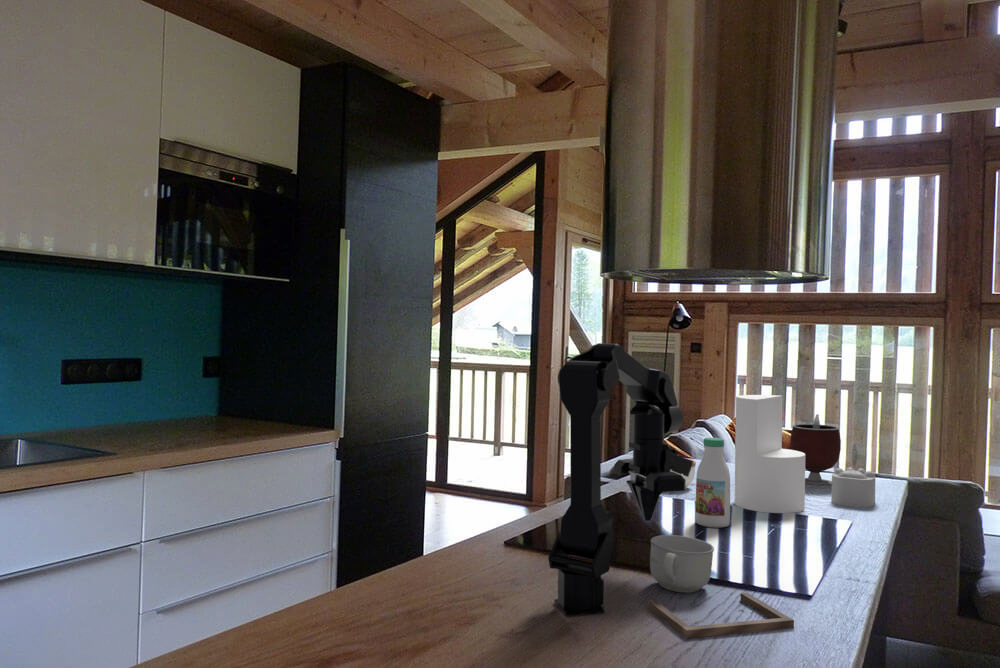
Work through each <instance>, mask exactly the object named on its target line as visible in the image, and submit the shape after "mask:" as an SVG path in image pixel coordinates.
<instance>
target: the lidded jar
mask: <svg viewBox="0 0 1000 668" xmlns="http://www.w3.org/2000/svg"><path fill="white" fill-rule="evenodd" d="M688 459H689V460H692V461H693V464H692V467H691V470H690V473H689V476H688V477H687V476H684V475H683V474H680V475H681V476H682V477H683V478H684V479H685V480H686V483H685V490H686V489H688V487H689V486H690V485H691V484H692V483H693V481H694V478H695V474H696V461H695V460H693V459H690V458H688ZM671 472H674V471H672V470H671ZM674 473H676V472H674ZM677 474H679V473H677Z"/></svg>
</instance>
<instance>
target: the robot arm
mask: <svg viewBox="0 0 1000 668" xmlns="http://www.w3.org/2000/svg"><path fill="white" fill-rule="evenodd" d="M618 382H621V383H622V384H623V385H625V387H626V388H625V392H626V395H628V396H629V398H630V399H631V400H632V401H633V402H634V403H635V404H634V406H632V407H631V409H630V411H629V413H630V415H633V422H632V423H633V426H632V427H633V429H632V431H633V435H632V441H629V442H628V443H629V444H628V446H629V448H631V449H632V458H631V459H618V460H617V461H616V462H615V463H614V464H613V465H614V467H613V469H614V470H613V472H614V473H613V474H614V475H617V476H618V477H623V475H624V474H630V475H629V476H630V479H628V480H626V481H625V482H626V484H627V485H628V487H629V490H630V491H631V493H632V495H633V497H634V500H635V502H636V504H637V506H638V509H639V511H640V513H641V516H642V519H643V520H644V521H646V522H650V521H652V518H653V515H654V512H655V508H656V507H657V503H658V501H659V498H660V496H661V494H662V493H665V492H666V493H667V492H685V491H686V489H685V483H686V480H685V479H684V478H683V477H682V476H681V475H680V474H683V475H684V476H687V477H688V476H689V473H690V470H691V467H692V464H693V461H692V460H693V459H691V460H689V459H690V458H686V457H683V456H680V455H679V454H678V450H676V449H674V448H671V447H670V445H669V444H668V443H666V442H665V435H667V434H670V433H675V432H677V431H679V430H680V429H681V428H682V426H683V424H684V420H685V419H684V418H685V417H684V414H683V412H682V410H681V409H680V408H679V406H678V399H677V396H676V393H675V389H674V387H673V382H672V379H671V378H670V376H669V375H668V373H667V372H666V371H664V370H661V369H655V368H649V367H646V366H645V365H644V364H643V363H641V362H640V361H638V360H637V359H636V358H635V357H633V356H632V355H631V354H629V353H628V352H627V351H626V350H625V348H624V346H623V345H621V344H618V343H601V342H600V343H599V342H598V343H596V344H593V345H591V347H590V348H589V349H588V350H586V351H583V352H581V353H579V354H577V355H574V356H572V357H571V358H570V359H569V360H567V361H566V362H565V363H564V364H563V366H562V367H560V369H559V370H558V373H557V383H558V386H559V399H560V401H561V403H562V404H563V406H564V408H565V409H566V411H567V413H568V414H569V417H570V419H569V420H570V421H569V422H570V423H569V424H570V425H569V427H570V428H569V429H570V430H569V431H570V432H569V434H570V435H569V437H570V439H569V441H570V445H569V446H570V447H569V448H570V451H569V452H570V453H569V457H570V458H569V459H570V468H569V469H570V501H569V502H570V504H569V506H568V508H567V509H566V511H565V512H564V514H563V516H562V518H561V519H560V524H559V525H560V527H559V528H560V529H559V532H558V534H557V536H556V539H555V541H554V543H553V546H552V548H551V551H550V552H549V555H548V558H547V560H548V564H549V565H548V566H549V569H555V570H557V599H556V598H555V599H554V600H553V602H554V603H553V604H555V605H556V607H558V609H560V610H561V611H562V613H563V614H564V615H565V616H567V617H569V616H571V617H573V616H583V615H596V614H603V613H605V611H606V609H605V608H604V600H605V599H604V596H605V595H604V594H605V593H604V591H605V590H604V589H605V587H604V583H605V582H604V581H605V580H604V579H603V578H602V576H603V575H604V574H606V573H608V572H610V567H611V561H612V554H613V548H614V544H615V543H614V532H613V520H614V518H613V515H612V512H611V511H606V510H605V508H604V507H603V505H602V497H601V496H602V493H601V491H602V489H601V487H602V486H601V485H602V478H601V476H602V475H601V473H602V470H601V469H602V468H601V464H602V462H601V461H602V459H601V458H602V456H601V452H602V451H601V445H602V441H601V440H602V438H601V436H602V435H601V427H602V426H601V420H602V419H601V417H602V414H603V412H604V410H605V409H606V407H607V406H608V404H609V402H610V400H611V397H612V395H611V394H612V388H613V387H614V386H615V385H616V383H618ZM671 470H672V471H674V472H676V473H674V472H671ZM677 473H679V474H677ZM569 556H571V557H576V558H571V557H569ZM577 558H580V559H577ZM583 559H586V560H587V561H586V560H583ZM588 560H590V561H588ZM591 561H592V562H591Z"/></svg>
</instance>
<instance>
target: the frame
mask: <svg viewBox="0 0 1000 668" xmlns="http://www.w3.org/2000/svg"><path fill="white" fill-rule="evenodd" d="M740 601H741V602H743V603H745V604H746V605H748V606H749V607H751V608H752V609H754V610H756V611H757V612H759V613H760V614H762V615H763V616H766V617H768V618H767V619H757V620H745V621H735V622H734V621H733V622H723V623H713V624H704V625H703V624H702V625H691V626H690V625H689V624H687V623H686V622H684V620H682V619H680V618H679V617H678V616H676V614H674V613H672V611H670V610H669V609H668V608H666V607H665V606H663V605H662V604H661V603H660V602H658V601H657V600H655V599H654V600H653V599H652V600H648V601H647V604H648V605H647V606H648V607H647V608H648V609H649V610H650V611H651V612H652V613H653V614H655V615H656V616H658V617H659V618H660V619H661V620H662V621H664V622H665V623H666V624H667V625H669V626H670V627H671V628H673V629H674V630H675V631H676V632H678V633H679V634H681V636H683V637H684V638H685V639H694V638H705V637H714V636H717V637H718V636H725V635H737V634H745V633H756V632H758V633H759V632H766V631H775V630H785V629H795V620H794V619H793V618H791V617H790V616H788V615H786V614H784V613H782V612H781V611H780V610H777V609H776V608H774V607H772V606H771V605H769V604H768V603H765V602H764V601H763V600H760V599H759V598H757V597H755V596H754V595H752V594H750V593H749V592H741V593H740Z"/></svg>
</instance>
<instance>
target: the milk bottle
mask: <svg viewBox="0 0 1000 668" xmlns="http://www.w3.org/2000/svg"><path fill="white" fill-rule="evenodd" d="M724 446H725V439H723V438H720V437H705V438H703V449H704V451H703V456H702V458H701V460H700V463H699V464H698V466H697V467H698V468H697V470H696V479H695V480H696V481H695V522H696V524H697V525H699V526H701V527H706V528H707V527H708V528H716V529H717V528H727V527H729V526H730V524H731V523H730V522H731V473H730V468H729V466H728V464H727V461H726V459H725V456H724V449H725V448H724Z"/></svg>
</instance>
